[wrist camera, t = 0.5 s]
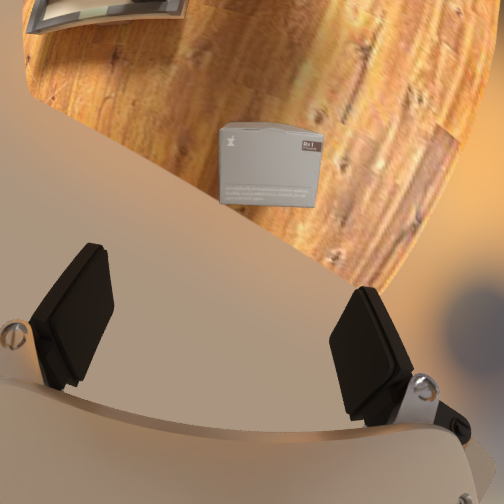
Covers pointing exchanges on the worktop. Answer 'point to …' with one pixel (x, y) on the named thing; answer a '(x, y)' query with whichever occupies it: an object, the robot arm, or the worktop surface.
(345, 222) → the worktop surface
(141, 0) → the rider
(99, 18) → the stand
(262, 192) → the skincare box
